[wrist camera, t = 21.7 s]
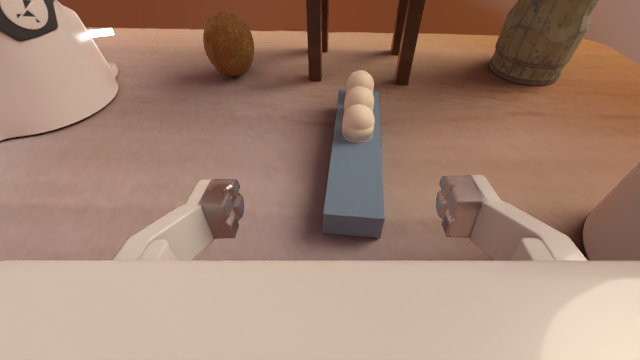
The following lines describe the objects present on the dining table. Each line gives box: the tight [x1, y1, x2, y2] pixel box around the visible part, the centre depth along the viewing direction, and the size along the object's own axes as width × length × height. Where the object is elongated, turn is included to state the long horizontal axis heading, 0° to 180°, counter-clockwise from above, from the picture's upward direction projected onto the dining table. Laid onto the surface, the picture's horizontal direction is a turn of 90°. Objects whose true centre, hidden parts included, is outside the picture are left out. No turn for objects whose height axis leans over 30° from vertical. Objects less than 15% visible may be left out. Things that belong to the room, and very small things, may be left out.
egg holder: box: [323, 70, 384, 238], centre depth 28 cm, size 18×4×5 cm, turn 174°
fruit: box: [203, 12, 254, 76], centre depth 40 cm, size 6×6×8 cm
